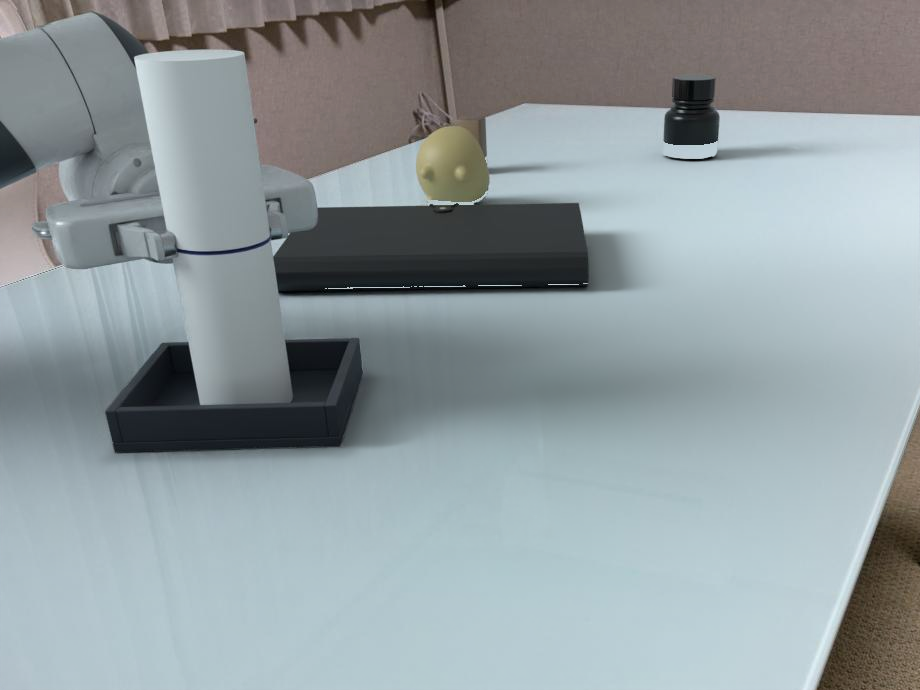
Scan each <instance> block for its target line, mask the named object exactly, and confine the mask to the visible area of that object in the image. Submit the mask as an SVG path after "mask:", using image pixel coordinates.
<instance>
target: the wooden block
mask: <svg viewBox="0 0 920 690" xmlns="http://www.w3.org/2000/svg"><path fill="white" fill-rule="evenodd" d="M486 121H487V120H486V117H485V116H484V115H462V116H459V117H457V118H456V119H455V120H454V126H460V127H464V128H466V129H467V130H468V131H470V132H471V133H472V134H473V136H474V137H475V138H476V140H477V141H478V143H479V145H480V147H481V149H482V151H483V154H484V157H486V156H487V157H488V149H487V147H488V146H487V123H486Z"/></svg>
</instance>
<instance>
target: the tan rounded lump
mask: <svg viewBox="0 0 920 690" xmlns="http://www.w3.org/2000/svg"><path fill="white" fill-rule="evenodd" d="M415 171H416V177H417V180H418V183H419V185H420V188H421V190H422V192H424V195H425V196H426V200H427V199H428V200H438V201H451V202H472V201H475V200H477V199H479V198H481V197H482V196H483V195H484V194H485V192H486V191H488V192H489V186H490V178H491V177H490V171H489V167H488V162H487V163H486V160H485V157H484V154H483V151H482V149H481V147H480V145H479V143H478V141H477V140H476V138H475V137H474V136H473V134H472V133H471V132H470V131H468V130H467V129H466V128H464V127H460V126H455V125H448V126H443V127H440V128H438V129H436V130H435V131H432V132H431V133H430V134H429V135H427V137H426V138H425V139H424V140H423V142H422V143H421V144H420V147H419V149H418V152H417V155H416V161H415Z"/></svg>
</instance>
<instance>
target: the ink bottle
mask: <svg viewBox="0 0 920 690" xmlns="http://www.w3.org/2000/svg"><path fill="white" fill-rule="evenodd" d="M716 79H717V77H716V76H712V75H702V74H684V75H676V76H673V77H672V83H671V85H672V86H671V88H672V89H671V102H672V103H673V104H674V105H671V106H670V109H669V110H667V111H666V112H665V114H664V120H663V140H662V142H663V141H664V142H665V143H668V144H673V145H704V144H710V143H714V142H716V141H718V142H719V133H720V122H721V121H720V113H719V112H718V110H717V109H715V106H713V105H712V104H713V103H714V102H715V97H716V96H715V95H716V82H717V81H716Z"/></svg>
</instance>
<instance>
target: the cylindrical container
mask: <svg viewBox="0 0 920 690" xmlns="http://www.w3.org/2000/svg"><path fill="white" fill-rule="evenodd" d="M134 60H135V65H136V70H137V76H138V81H139V86H140V91H141V97H142V102H143V107H144V112H145V118H146V123H147V128H148V133H149V139H150V144H151V149H152V155H153V160H154V165H155V170H156V176H157V181H158V186H159V191H160V197H161V202H162V207H163V212H164V218H165V223H166V228H167V230H168V231H169V232H172V233H173V234H174V237H175V240H176V244H175V247H176V248H177V251H178V257H176V258H172V260H173V263H172V265H173V270H174V275H175V281H176V285H177V291H178V295H179V296H178V297H179V301H180V306H181V311H182V316H183V322H184V327H185V333H186V337H187V342H188V343H189V349H190V354H191V359H192V364H193V370H194V375H195V380H196V385H197V390H198V396H199V401H200V405H223V404H261V403H290V402H291V401H292V398H293V393H292V386H291V379H290V372H289V365H288V358H287V351H286V344H285V340H286V337H285V331H284V324H283V317H282V309H281V303H280V296H279V292H278V287H277V280H276V273H275V266H274V259H273V256H274V253H273V245H272V240H271V238H270V231H269V224H268V217H267V210H266V203H265V195H264V188H263V181H262V174H261V167H260V164H261V161H260V155H259V147H258V140H257V133H256V125H255V119H254V112H253V104H252V98H251V90H250V84H249V77H248V69H247V62H246V55H245V52H244V51H241V50H234V49H183V50H180V49H179V50H168V51H167V50H166V51H158V52H149V53H148V54H142V55H138V56H135V57H134Z"/></svg>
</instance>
